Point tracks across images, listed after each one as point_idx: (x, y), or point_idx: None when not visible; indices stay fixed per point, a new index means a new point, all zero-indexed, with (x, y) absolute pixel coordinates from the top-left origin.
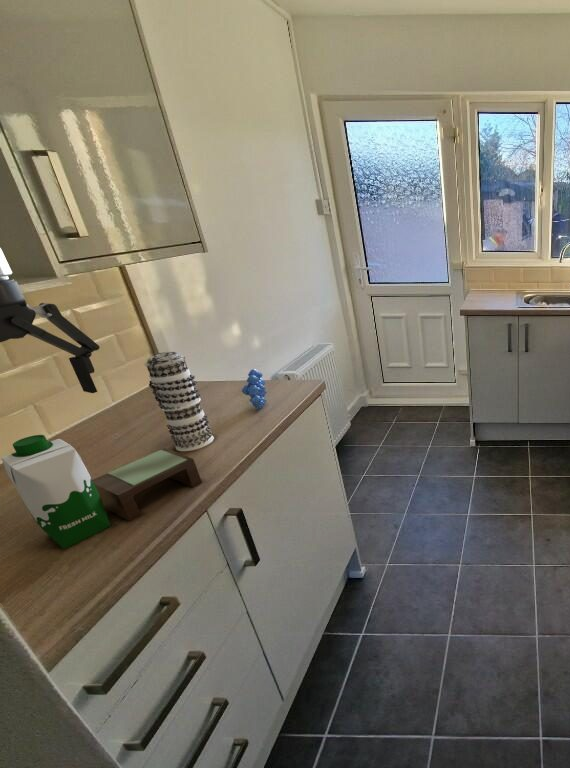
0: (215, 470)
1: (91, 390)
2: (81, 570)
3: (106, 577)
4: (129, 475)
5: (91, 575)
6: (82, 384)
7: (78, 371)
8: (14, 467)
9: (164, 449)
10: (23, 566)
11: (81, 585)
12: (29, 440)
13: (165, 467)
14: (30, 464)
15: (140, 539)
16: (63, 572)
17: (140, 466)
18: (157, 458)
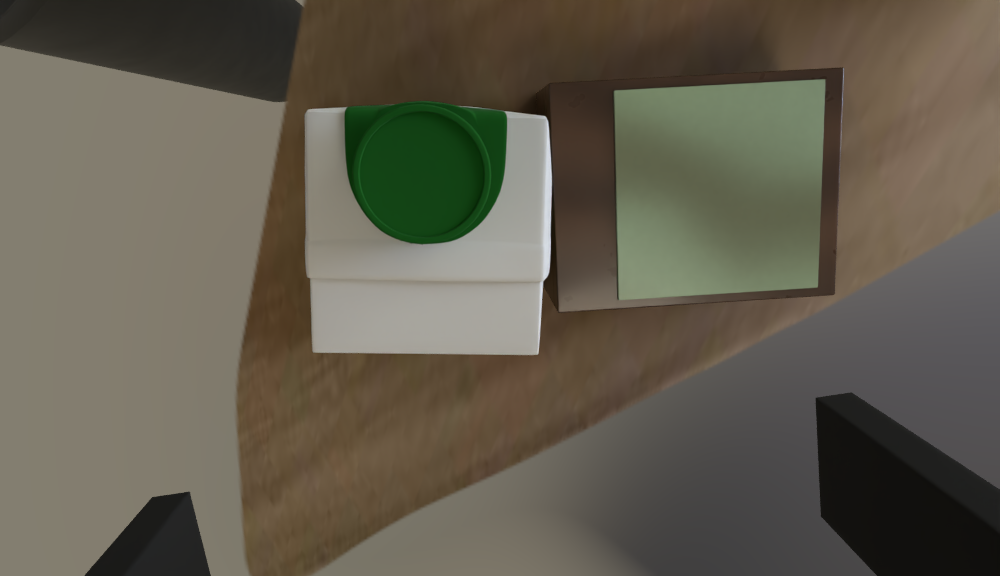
0: (850, 233)
1: (835, 531)
2: (377, 409)
3: (402, 498)
4: (646, 204)
5: (384, 455)
6: (855, 457)
7: (950, 567)
8: (316, 315)
9: (834, 86)
10: (293, 236)
11: (357, 473)
12: (424, 173)
13: (743, 273)
14: (367, 348)
15: (517, 413)
16: (348, 373)
17: (704, 164)
18: (772, 158)
